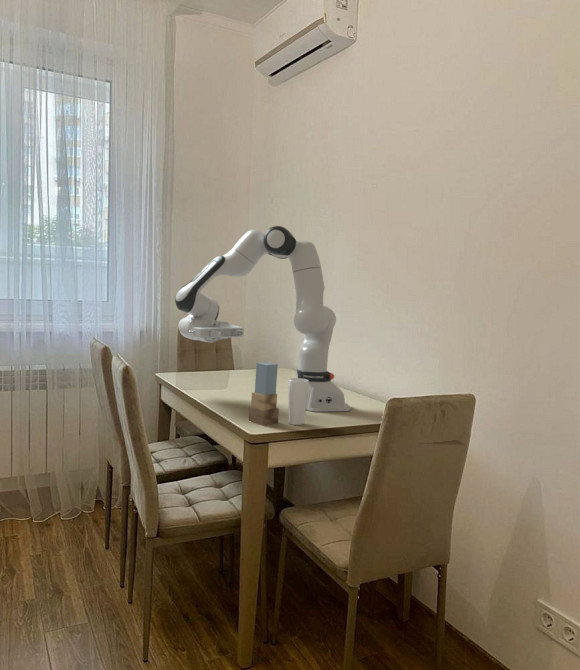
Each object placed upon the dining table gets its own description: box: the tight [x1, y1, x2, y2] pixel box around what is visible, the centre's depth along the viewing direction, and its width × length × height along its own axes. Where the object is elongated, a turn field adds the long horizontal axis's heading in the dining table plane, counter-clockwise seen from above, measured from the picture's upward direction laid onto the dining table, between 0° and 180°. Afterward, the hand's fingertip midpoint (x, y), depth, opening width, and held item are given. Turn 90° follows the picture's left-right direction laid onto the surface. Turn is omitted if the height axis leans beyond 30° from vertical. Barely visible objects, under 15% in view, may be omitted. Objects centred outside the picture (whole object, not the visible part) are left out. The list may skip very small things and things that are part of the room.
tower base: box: [248, 406, 280, 426], centre depth 195 cm, size 7×7×5 cm
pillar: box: [254, 361, 279, 395], centre depth 194 cm, size 5×5×10 cm
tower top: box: [250, 391, 278, 411], centre depth 195 cm, size 6×6×5 cm
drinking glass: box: [287, 377, 309, 426], centre depth 195 cm, size 7×7×15 cm
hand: (232, 334), depth 211 cm, fingers open, 8 cm apart
